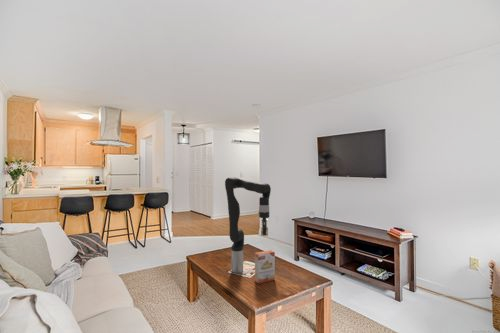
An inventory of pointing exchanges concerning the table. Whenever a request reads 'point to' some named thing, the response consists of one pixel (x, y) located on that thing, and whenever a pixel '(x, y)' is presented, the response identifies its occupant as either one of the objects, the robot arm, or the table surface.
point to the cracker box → (264, 266)
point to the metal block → (262, 231)
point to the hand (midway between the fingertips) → (264, 233)
